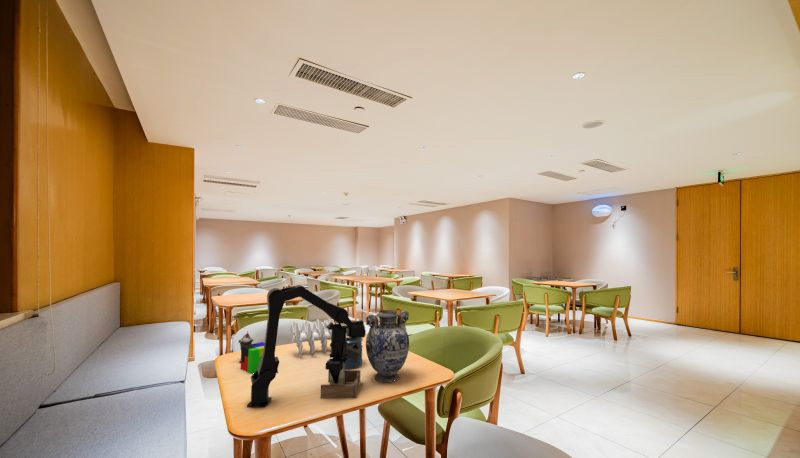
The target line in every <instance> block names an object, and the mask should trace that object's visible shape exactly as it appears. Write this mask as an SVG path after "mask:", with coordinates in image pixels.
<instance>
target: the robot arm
mask: <svg viewBox="0 0 800 458" xmlns="http://www.w3.org/2000/svg"><path fill="white" fill-rule="evenodd" d="M297 298H301V299H303V300H304V301H306V302H307V303H310V304H311V305H313V306H314V307H316V308H318V309H320V310H321V311H322V312H324V313H325V314H326V315H327V316H328V318H330V319H331V320H333V322H336V323H335V324H333V323H332V322H330V324H329V325H328V326H326V328H327V329H329V330H332V331H331V340H330V343H329V347H330V354H329V359H328V360H327V361H326V362H325V370H328V372H329V371H330V374H331V376H332V378H333V381H334V383H335V384H337V383H338V379H339V374H340V370H342V369H343V367H344V362H345V361H346V360H347V358H345V356H346V357H348V358H351V359H353V360H355V361H357V358H358V356H359V353H360V349H358V345H357V344H354V345H353V346H348V345H347V341H346V334H347V336H349V338H350V339H353V338H362V339H363V338H365V337H366V335H367V334H366V332H367V331H366V330H367V329H366V326H365V322H364V320H362V319H360V320H351V319H350V317H349V312H348V310H347V309H345V308H343V307H341V306H338V305H336V304H333V303H332V302H331V303H330V302H328V301H327V300H325V299H324V298H322V297H320V296H318V295H316V294H315V293H313V292H312V291H310V290H308V289H306V288H305V286H303V285H300V284H299V285H296V286H289V287H285V288H278V287H273V288H272V289H270V290H269V291H268V292H267V294H266V304H267V305H266V306H267V313H268V314H267V321H266V329H265V338H264V351H263V354H262V357H261V359H260V362H259V365H258V369H257V371H256V372H255V373H254V374H251V376H250V381H251V385H250V387H251V388H250V401H249V402H248V403H247V404H246V407H247V408H265V407H266V406H268V404H269V403H270V402H271V401H272V399H273V398H272V397H270V396H269V393H270V392H269V390H270V389H269V388H270V384H271V382H272V381H273V380H274V379H275V378H276V376H277V374H279V369H278V368H279V365H280V360H279V358H278V356H276V354H275V353H276V347H277V338H278V330H279V323H280V315H281V312H282V310H283V308H284V305H285V302H288V301H291V300H294V299H297ZM343 324H344V325H343Z"/></svg>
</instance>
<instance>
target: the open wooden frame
mask: <svg viewBox="0 0 800 458" xmlns="http://www.w3.org/2000/svg"><path fill="white" fill-rule="evenodd" d="M327 376H328V378H327V379H328V380H327V381H328V383H330V371H329V370H328V375H327ZM345 383H354V384H344V385H330V384H321V385H320V398H319V399H357V396H358V393H359V388H360V383H361V370H360V369H358V370H357V369H345Z"/></svg>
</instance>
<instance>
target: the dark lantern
mask: <svg viewBox="0 0 800 458" xmlns="http://www.w3.org/2000/svg"><path fill="white" fill-rule="evenodd" d="M253 342H254V339H253V337H251V335H250V333H248V332H246V333H245V334H243V336H242V338H241V339H239V340H238V343H239V346H240V348H241V346H246V345H250V344H253ZM239 364H241V360H240V361H239Z"/></svg>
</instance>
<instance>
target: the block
mask: <svg viewBox="0 0 800 458" xmlns="http://www.w3.org/2000/svg"><path fill="white" fill-rule="evenodd" d="M345 370H346V369H345V364H344V367H343V369H342V370H340V374H339V379H338V383H337V384H335V383H334V381H333V378H332V376H331V374H330V382H329V385H345V383H346V382H345Z"/></svg>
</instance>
